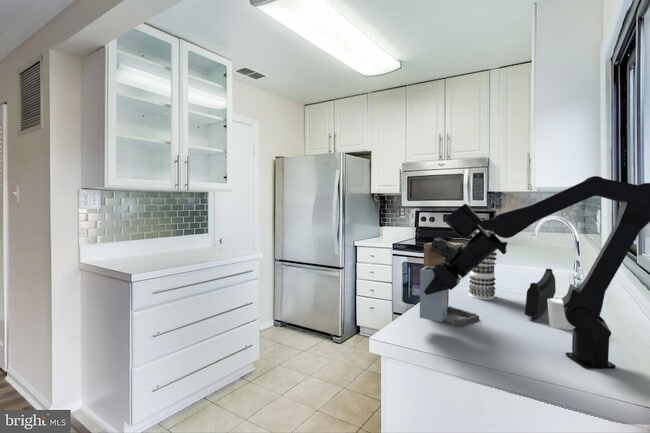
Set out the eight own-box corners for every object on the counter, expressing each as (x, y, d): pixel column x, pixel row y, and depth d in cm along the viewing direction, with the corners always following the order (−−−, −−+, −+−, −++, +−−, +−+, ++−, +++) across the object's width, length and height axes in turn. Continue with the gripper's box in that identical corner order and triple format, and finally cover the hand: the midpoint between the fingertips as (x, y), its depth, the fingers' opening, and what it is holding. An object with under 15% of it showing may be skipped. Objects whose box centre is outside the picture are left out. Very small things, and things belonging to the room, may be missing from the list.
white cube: (562, 331, 95) (563, 305, 95) (540, 323, 102) (541, 298, 102) (582, 329, 97) (583, 303, 97) (559, 320, 104) (560, 296, 104)
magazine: (536, 292, 100) (555, 250, 122) (523, 290, 103) (544, 249, 124) (538, 345, 105) (555, 295, 126) (525, 342, 107) (545, 293, 128)
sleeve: (446, 315, 95) (447, 268, 95) (441, 321, 90) (442, 271, 90) (425, 312, 98) (426, 266, 98) (419, 317, 93) (420, 269, 93)
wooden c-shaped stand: (479, 319, 104) (480, 245, 103) (457, 326, 99) (459, 248, 98) (444, 309, 114) (445, 241, 113) (422, 314, 109) (424, 243, 108)
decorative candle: (496, 301, 124) (498, 227, 122) (467, 297, 128) (468, 226, 126) (496, 294, 132) (498, 226, 131) (469, 291, 136) (470, 225, 135)
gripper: (457, 225, 99) (417, 261, 105) (442, 230, 83) (395, 273, 89) (488, 256, 96) (444, 292, 102) (478, 267, 80) (427, 309, 86)
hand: (428, 290), depth 95 cm, fingers closed on sleeve, 6 cm apart
